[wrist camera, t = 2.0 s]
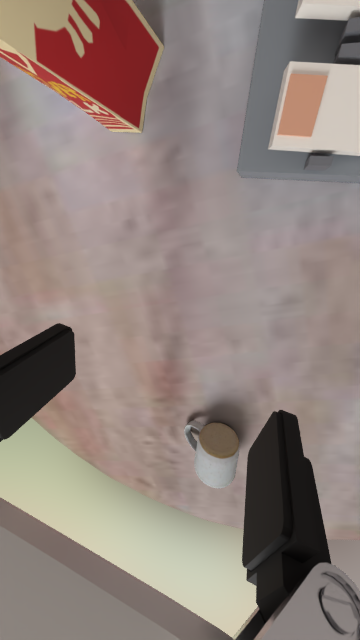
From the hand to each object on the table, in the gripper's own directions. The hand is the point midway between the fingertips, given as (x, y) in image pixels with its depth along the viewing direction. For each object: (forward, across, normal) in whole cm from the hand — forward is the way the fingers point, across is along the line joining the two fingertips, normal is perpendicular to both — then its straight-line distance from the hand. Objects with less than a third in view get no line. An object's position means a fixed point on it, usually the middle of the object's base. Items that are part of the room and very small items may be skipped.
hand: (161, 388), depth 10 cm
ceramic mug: (+23, -7, +32) cm, 40 cm away
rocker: (+17, -4, -15) cm, 23 cm away
